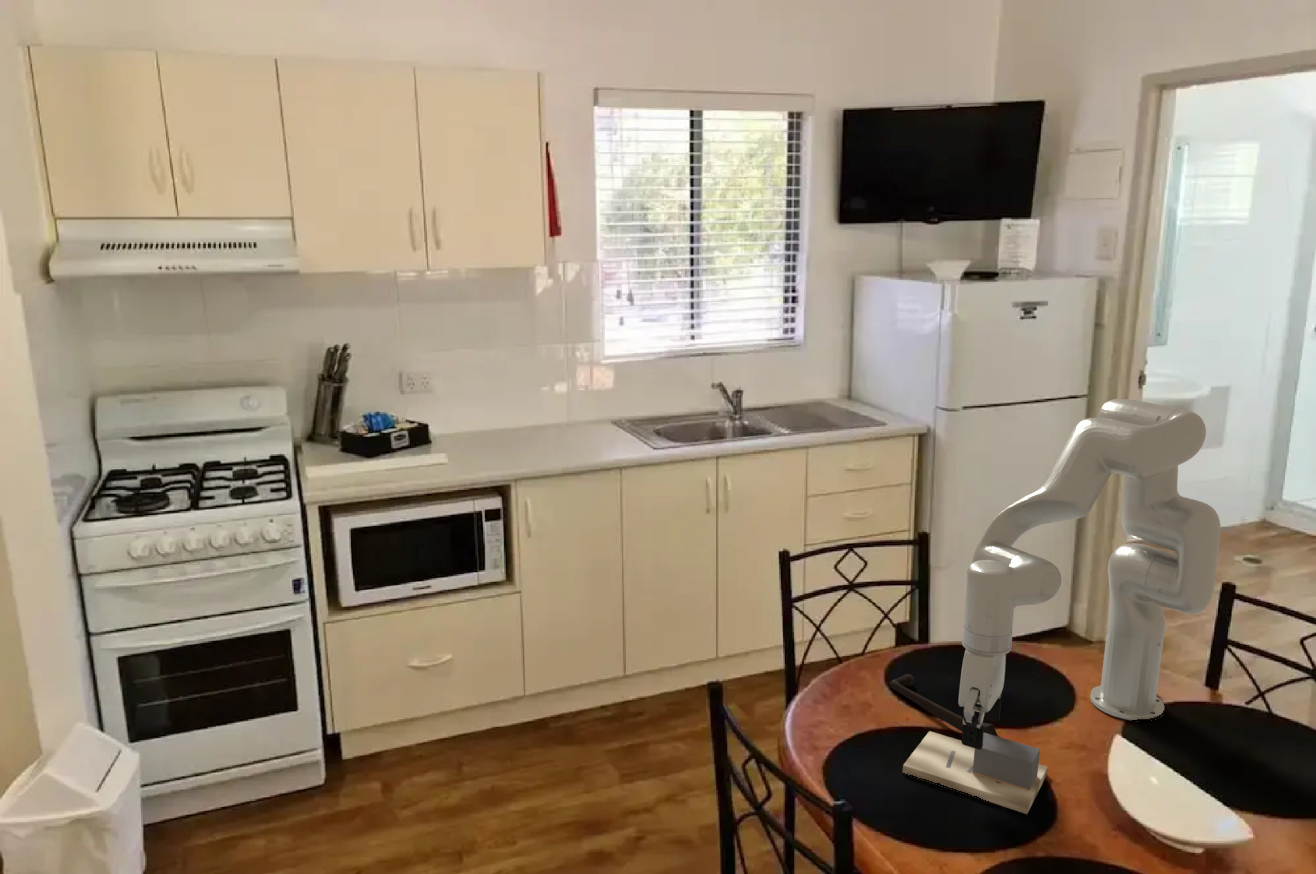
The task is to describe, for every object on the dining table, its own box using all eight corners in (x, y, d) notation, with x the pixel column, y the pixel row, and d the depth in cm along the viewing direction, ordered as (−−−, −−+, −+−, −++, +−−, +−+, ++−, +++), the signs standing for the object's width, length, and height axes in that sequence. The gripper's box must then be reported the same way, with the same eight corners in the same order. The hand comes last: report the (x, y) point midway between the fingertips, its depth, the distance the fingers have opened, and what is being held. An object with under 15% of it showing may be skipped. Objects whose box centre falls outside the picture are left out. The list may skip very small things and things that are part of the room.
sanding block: (981, 759, 163) (983, 732, 162) (1037, 776, 158) (1040, 749, 157) (972, 773, 159) (974, 746, 158) (1029, 791, 154) (1032, 763, 153)
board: (928, 738, 172) (929, 731, 172) (1046, 774, 161) (1047, 766, 161) (902, 773, 162) (903, 765, 161) (1027, 814, 151) (1027, 805, 151)
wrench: (909, 690, 193) (1021, 755, 166) (888, 696, 191) (998, 763, 164) (908, 665, 192) (1021, 727, 165) (887, 672, 190) (998, 735, 163)
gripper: (979, 612, 165) (973, 703, 169) (946, 653, 151) (941, 751, 155) (1025, 622, 161) (1018, 715, 165) (995, 664, 147) (988, 765, 151)
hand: (980, 732), depth 160 cm, fingers open, 9 cm apart
